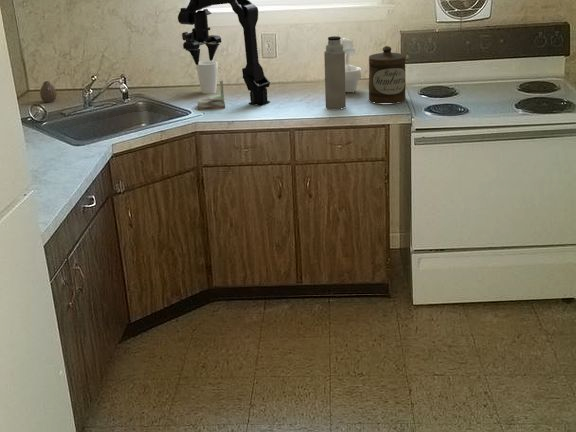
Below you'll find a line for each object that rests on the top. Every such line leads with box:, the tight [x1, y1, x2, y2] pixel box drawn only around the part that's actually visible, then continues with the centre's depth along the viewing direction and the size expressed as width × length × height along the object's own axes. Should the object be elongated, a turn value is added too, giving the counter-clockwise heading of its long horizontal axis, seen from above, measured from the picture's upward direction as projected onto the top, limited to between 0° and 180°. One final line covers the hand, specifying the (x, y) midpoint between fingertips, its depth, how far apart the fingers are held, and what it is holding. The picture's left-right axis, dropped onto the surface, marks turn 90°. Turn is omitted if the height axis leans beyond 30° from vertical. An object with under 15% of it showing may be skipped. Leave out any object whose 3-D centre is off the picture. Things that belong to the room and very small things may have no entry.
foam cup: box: [195, 60, 219, 95], centre depth 354 cm, size 10×9×13 cm
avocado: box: [39, 80, 58, 104], centre depth 351 cm, size 7×7×9 cm
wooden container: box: [368, 45, 407, 104], centre depth 325 cm, size 15×15×22 cm
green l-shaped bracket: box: [208, 78, 226, 101], centre depth 329 cm, size 6×6×8 cm
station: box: [197, 97, 226, 111], centre depth 331 cm, size 11×8×3 cm
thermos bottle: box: [323, 35, 347, 110], centre depth 317 cm, size 8×8×28 cm
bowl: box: [197, 97, 212, 104], centre depth 331 cm, size 6×6×2 cm
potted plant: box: [337, 35, 362, 93], centre depth 341 cm, size 13×12×25 cm
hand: (204, 62), depth 343 cm, fingers open, 9 cm apart
